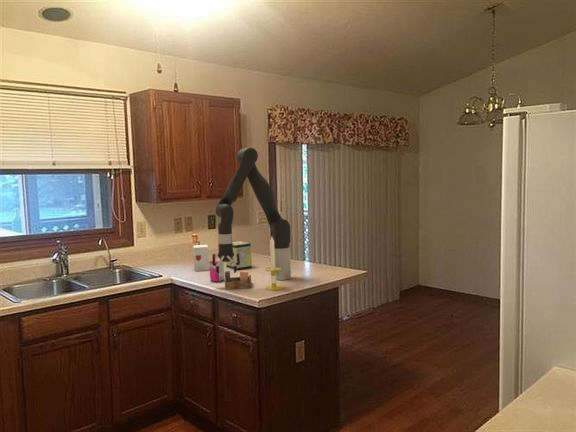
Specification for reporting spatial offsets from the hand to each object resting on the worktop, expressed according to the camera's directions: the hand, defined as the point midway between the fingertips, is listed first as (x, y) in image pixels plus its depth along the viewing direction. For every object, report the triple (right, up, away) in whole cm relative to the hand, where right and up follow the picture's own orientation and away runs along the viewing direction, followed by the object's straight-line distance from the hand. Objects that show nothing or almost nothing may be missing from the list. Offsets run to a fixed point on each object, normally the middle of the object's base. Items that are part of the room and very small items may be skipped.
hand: (226, 273), depth 260 cm
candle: (+25, -7, -6) cm, 27 cm away
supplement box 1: (-22, -4, +50) cm, 54 cm away
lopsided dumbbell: (+5, -5, +1) cm, 8 cm away
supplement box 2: (-7, -6, +15) cm, 18 cm away
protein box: (+1, -3, +52) cm, 52 cm away
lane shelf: (+6, -7, +1) cm, 9 cm away
